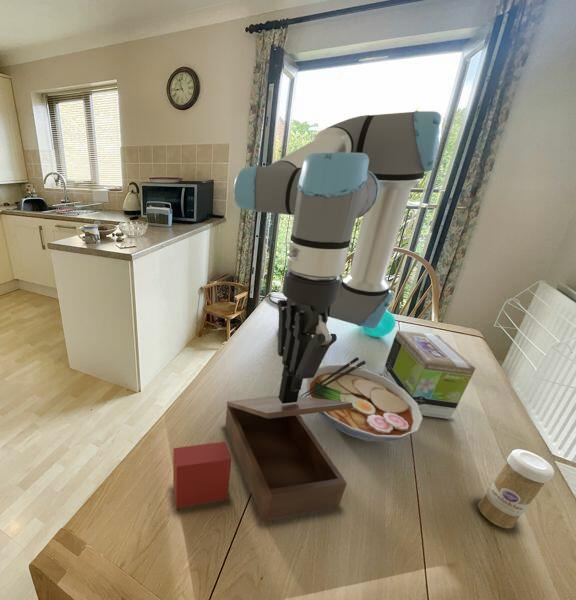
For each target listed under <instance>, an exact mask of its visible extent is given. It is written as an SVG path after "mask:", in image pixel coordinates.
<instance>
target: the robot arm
mask: <svg viewBox="0 0 576 600" xmlns="http://www.w3.org/2000/svg"><path fill="white" fill-rule="evenodd" d="M442 128H443V117H442V115H441V113H440V112H438V111H432V110H431V111H428V110H426V111H423V110H421V111H419V110H415V111H406V112H393V113H383V114H382V113H381V114H365V115H359V116H355V117H351V118H348V119H344V120H343V121H339V122H337V123H335V124H332V125H330V126H328V127H326V128H324V129H322V130H320V131H318V133H317V134H316V135H314V137H313V138H312V139H311V141H310V142H308V143H305V144H304V145H303V146H301V147H300V148H297V149H295V150H294V151H292V152H290V153H289V154H287V155H285V156H283V157H281V158H280V159H278V160H276V161H274V162H272V163H271V164H268V165H266V166H259V165H255V166H244V167H243V168H242V169H240V171H239V172H238V174H237V175H236V177H235V179H234V184H233V199H234V202H235V204H236V206H237V207H238V208H239V209H242V210H247V211H253V212H254V213H256V212H260V213H268V214H269V213H270V214H280V215H290V216H293V221H292V227H291V234H290V242H289V246H288V250H287V252H286V256H287V260H286V268H287V269H286V270H285V271H284V276H283V277H284V278H283V282H282V289H281V292H282V295H283V296H284V297H285V299H284V298H283V299H278V300H277V302H276V301H274V300H272V299H271V293H268V301H269V302H271V303H272V304H274V305H276V306H277V308H278V333H277V334H278V335H277V355H278V356H279V357H281V358H282V359H281V363H282V366H283V368H282V373H281V382H280V387H279V392H278V396H279V397H278V398H279V399H280V401H281V403H282V404H284V403H293V402H297V399H298V396H300V395H299V394H300V391H301V390H302V385H303V381H304V380H306V379H307V378H314V376H315V374H316V372H317V370H318V368H319V367H321V364H322V362H323V360H324V358H325V356H326V354H327V353H328V350H329V348H330V346H331V345H333V344H334V343H335V342H336V341H337V340H338V339H337V338H338V336H337V334H336V333H335V332H330V331H329V329H328V326H327V322H328V321H329V319H328V318H332V319H335V320H338V321H343V322H345V323H348V324H352V325H356V326H357V327H362V326H363V327H367V328H375V327H377V326H378V325H379V323H380V321H381V319H382V317H383V315H384V313H385V311H386V309H387V310H388V307H389V305H390V304H391V301H392V300H393V298H394V296H395V292H394V291H392V290H391V289H390V287H391V283H390V282H389V281H388V279H387V274H388V270H389V267H390V263H391V260H392V257H393V253H394V251H395V247H396V243H397V239H398V236H399V232H400V230H401V226H402V222H403V218H404V215H405V212H406V209H407V206H408V202H409V198H410V194H411V192H412V188H413V186H415V185H416V184H418V183H419V182H420V181H422V180H424V179H423V178H424V175H425V172H427V173H428V172H431V171H433V170H434V169H435V166H436V161H437V157H438V154H439V149H440V148H439V147H440V142H441V135H442ZM361 217H362V219H361V223H360V227H359V232H358V235H357V239H356V245H355V248H354V252H353V258H352V262H351V266H350V271H349V273H346V274H345V275H343V273H344V272H345V268H346V265H347V264H346V263H347V259H348V255H349V250H350V244H351V241H352V236H353V232H354V227H355V224H356V220H357V219H359V218H361ZM341 275H343V276H342V278H341Z"/></svg>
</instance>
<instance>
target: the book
mask: <svg viewBox="0 0 576 600" xmlns="http://www.w3.org/2000/svg"><path fill="white" fill-rule="evenodd" d="M172 453H173V455H172V456H173V457H172V458H173V460H172V461H173V463H172V464H173V466H172V467H173V468H172V469H173V471H172V475H173V481H172V482H173V483H172V485H173V487H172V489H173V499H174V504H175V511H180V510H181V507H185V506H186V507H187V506H193V505H198V504H199V505H200V504H205V503H213V502H217V501H223V500H227V499H228V494H229V486H230V485H229V484H230V477H231V476H230V475H231V467H232V456H231V454H230V451H229V448H228V445H227V442H226V441H218V442H217V441H216V442H209V443H203V444H195V445H188V446H180V447H173V452H172Z"/></svg>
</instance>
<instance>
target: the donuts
mask: <svg viewBox="0 0 576 600" xmlns="http://www.w3.org/2000/svg"><path fill="white" fill-rule="evenodd" d="M396 323H397V322H396V317H395V316H394V315H393V313H391V312H390V311H389V310H388V308H387V309H386V311H385V313H384V315H383V317H382V319H381V321H380V323H379V325H378V326H377V327H375V328H367V327H363V326H361V329H362V331H363V332H364V333H365V334H366V335H368V336H370V337H372V338H373V337H374V338H380V337H385V336H387V335H389V334H390V333H391V332H393V330H394V329H395V328H396Z"/></svg>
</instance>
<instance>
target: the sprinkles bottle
mask: <svg viewBox="0 0 576 600" xmlns="http://www.w3.org/2000/svg"><path fill="white" fill-rule="evenodd" d="M554 475H555V470H554V467H553V466H552V465H551V464H550V463H549V461H547V460H545V459H544V458H543V457H541V456H540V455H537V454H536V453H534V452H531V451H528V450H525V449H517V448H516V449H514V450H512V451H511V453H510V454H509V455H508V457H507V460H506V462H505V464H504V466H503V467H502V468H501V470H500V471H499V472H498V473H497V475H496V477H495V478H494V480H493V481H492V483H491V484H490V486H489V488H488V489H487V491H486V493H485V495H484V496H483V498H482V499H481V500H480V501H479V502H478V504H477V507H478V508H477V509H479V512H480V513H481V515H482V516H483V517H484V518H486V519H487V520H488V521H489V522H490V523H492V524H493V525H495V526H497V527H499V528H503V529H507V530H508V529H512V528H514V526H515V525H516V522H517V521H518V520H519V518H520V517H521V516H522V515H523V514H524V513H525V511H526V510H527V509H528V508H529V506H530V505H531V503H533V501H534V499H535V498H536V497H537V496H538V493H539V492H540V490H541V489H542V488H543V487H544V486H545V484H547V483H549V482H550V481H551V479H552V478H553V477H554Z"/></svg>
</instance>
